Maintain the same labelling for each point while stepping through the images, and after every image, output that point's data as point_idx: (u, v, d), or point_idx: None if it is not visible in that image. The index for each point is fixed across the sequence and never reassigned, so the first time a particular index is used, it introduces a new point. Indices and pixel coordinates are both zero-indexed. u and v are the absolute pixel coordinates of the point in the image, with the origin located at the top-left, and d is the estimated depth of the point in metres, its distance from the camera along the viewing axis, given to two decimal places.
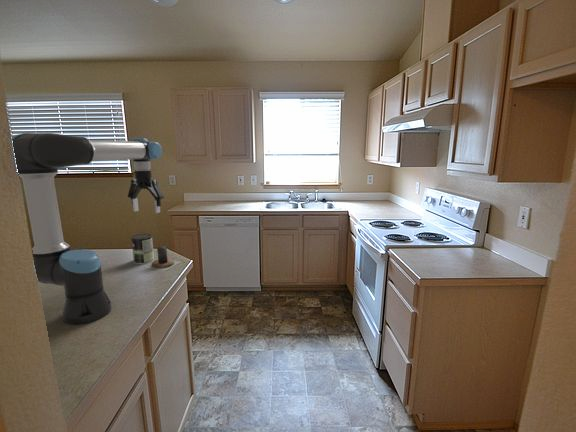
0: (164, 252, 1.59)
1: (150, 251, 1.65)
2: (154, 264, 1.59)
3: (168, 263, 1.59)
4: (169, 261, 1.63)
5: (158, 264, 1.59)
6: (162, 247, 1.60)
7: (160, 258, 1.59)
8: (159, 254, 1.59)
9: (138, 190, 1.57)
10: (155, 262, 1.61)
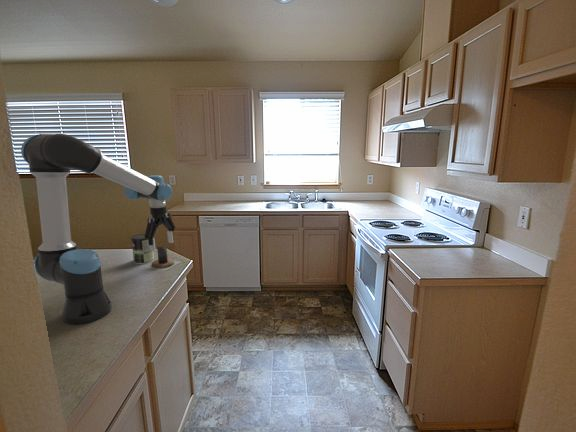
0: (164, 252, 1.59)
1: (150, 251, 1.65)
2: (154, 264, 1.59)
3: (168, 263, 1.59)
4: (169, 261, 1.63)
5: (158, 264, 1.59)
6: (162, 247, 1.60)
7: (160, 258, 1.59)
8: (159, 254, 1.59)
9: (164, 224, 1.61)
10: (155, 262, 1.61)
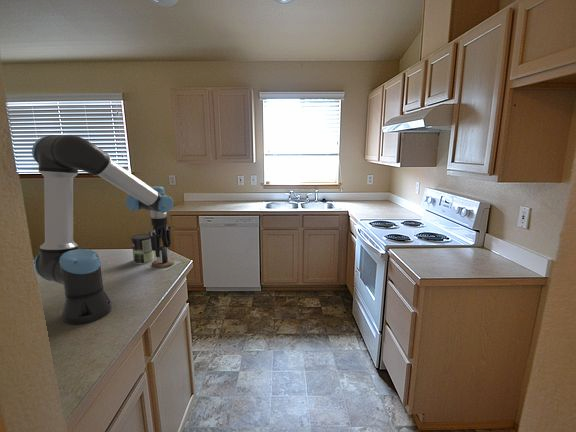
0: (164, 252, 1.59)
1: (150, 251, 1.65)
2: (154, 264, 1.59)
3: (168, 263, 1.59)
4: (169, 261, 1.63)
5: (158, 264, 1.59)
6: (162, 247, 1.60)
7: None
8: None
9: (162, 237, 1.61)
10: (155, 262, 1.61)
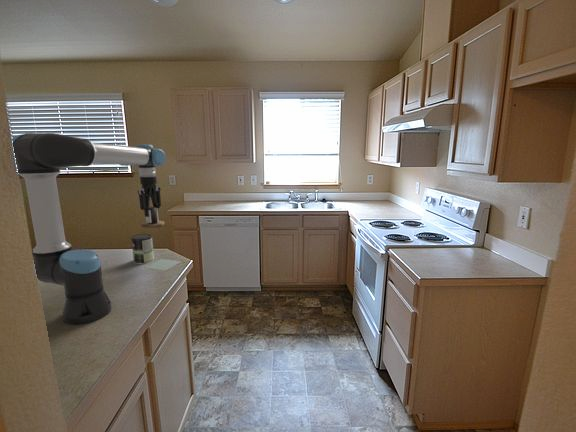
0: (153, 212, 1.57)
1: (150, 251, 1.65)
2: (143, 224, 1.57)
3: (157, 224, 1.57)
4: (159, 222, 1.61)
5: (147, 224, 1.57)
6: (152, 207, 1.58)
7: None
8: None
9: (152, 197, 1.58)
10: (145, 223, 1.59)
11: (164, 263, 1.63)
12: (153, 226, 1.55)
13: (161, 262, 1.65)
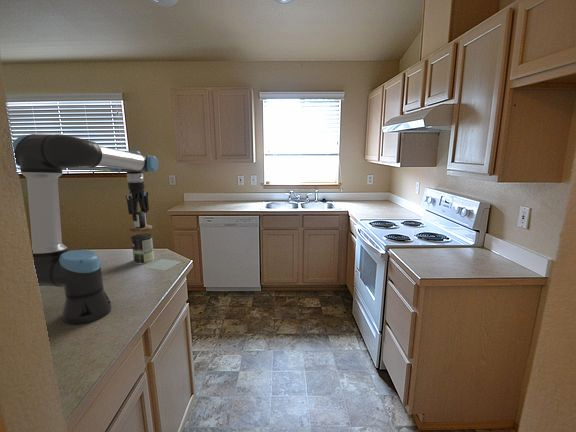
0: (141, 217, 1.62)
1: (150, 251, 1.65)
2: (131, 228, 1.61)
3: (145, 228, 1.62)
4: (147, 226, 1.65)
5: (135, 228, 1.61)
6: (139, 212, 1.63)
7: None
8: None
9: (140, 202, 1.63)
10: (133, 227, 1.64)
11: (164, 263, 1.63)
12: (141, 230, 1.59)
13: (161, 262, 1.65)
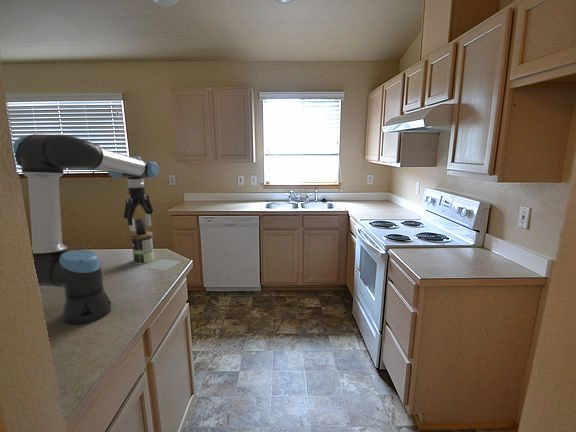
0: (142, 224, 1.62)
1: (150, 251, 1.65)
2: (132, 235, 1.62)
3: (145, 235, 1.62)
4: (148, 233, 1.66)
5: (136, 235, 1.62)
6: (140, 219, 1.63)
7: (138, 230, 1.62)
8: (137, 225, 1.62)
9: (142, 206, 1.65)
10: (133, 234, 1.64)
11: (164, 263, 1.63)
12: (141, 237, 1.60)
13: (161, 262, 1.65)
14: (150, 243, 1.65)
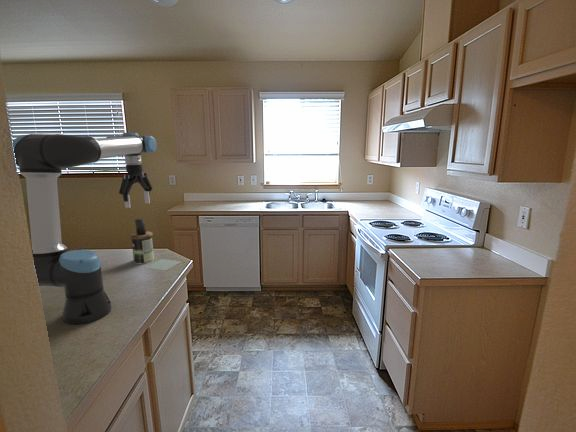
0: (142, 224, 1.62)
1: (150, 251, 1.65)
2: (132, 235, 1.62)
3: (145, 235, 1.62)
4: (148, 233, 1.66)
5: (136, 235, 1.62)
6: (140, 219, 1.63)
7: (138, 230, 1.62)
8: (137, 225, 1.62)
9: (141, 183, 1.63)
10: (133, 234, 1.64)
11: (164, 263, 1.63)
12: (141, 237, 1.60)
13: (161, 262, 1.65)
14: (150, 243, 1.65)
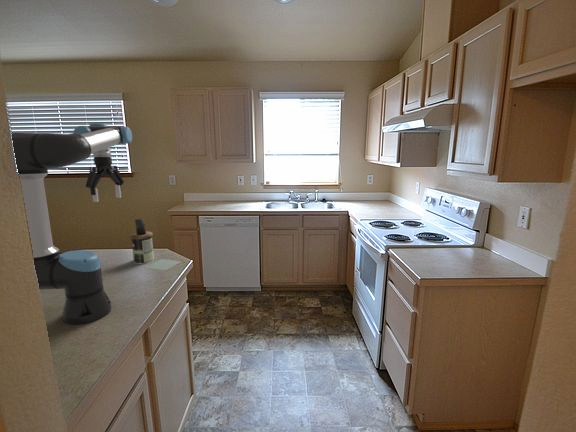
0: (142, 224, 1.62)
1: (150, 251, 1.65)
2: (132, 235, 1.62)
3: (145, 235, 1.62)
4: (148, 233, 1.66)
5: (136, 235, 1.61)
6: (140, 219, 1.63)
7: (138, 230, 1.62)
8: (137, 225, 1.62)
9: (111, 177, 1.56)
10: (133, 234, 1.64)
11: (164, 263, 1.63)
12: (141, 237, 1.60)
13: (161, 262, 1.65)
14: (150, 243, 1.65)
